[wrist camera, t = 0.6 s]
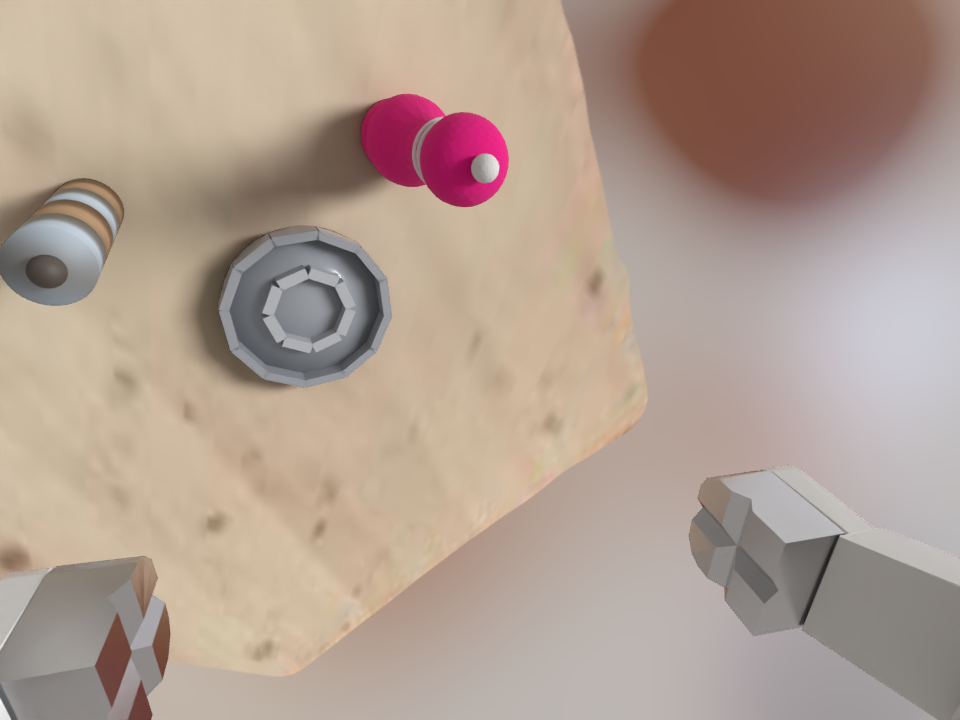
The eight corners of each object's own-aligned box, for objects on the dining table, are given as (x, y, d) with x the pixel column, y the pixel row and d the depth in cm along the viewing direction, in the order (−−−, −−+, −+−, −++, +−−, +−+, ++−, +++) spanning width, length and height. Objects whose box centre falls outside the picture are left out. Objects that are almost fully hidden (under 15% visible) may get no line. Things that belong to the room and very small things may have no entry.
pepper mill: (392, 194, 52) (482, 252, 36) (337, 131, 48) (412, 165, 32) (446, 140, 52) (561, 174, 36) (396, 72, 48) (501, 77, 32)
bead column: (62, 168, 41) (-2, 222, 27) (130, 192, 43) (103, 252, 30) (48, 224, 42) (-20, 302, 28) (116, 244, 44) (83, 325, 31)
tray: (250, 199, 47) (253, 206, 45) (405, 258, 55) (413, 265, 53) (199, 353, 51) (199, 366, 49) (351, 386, 59) (356, 398, 57)
